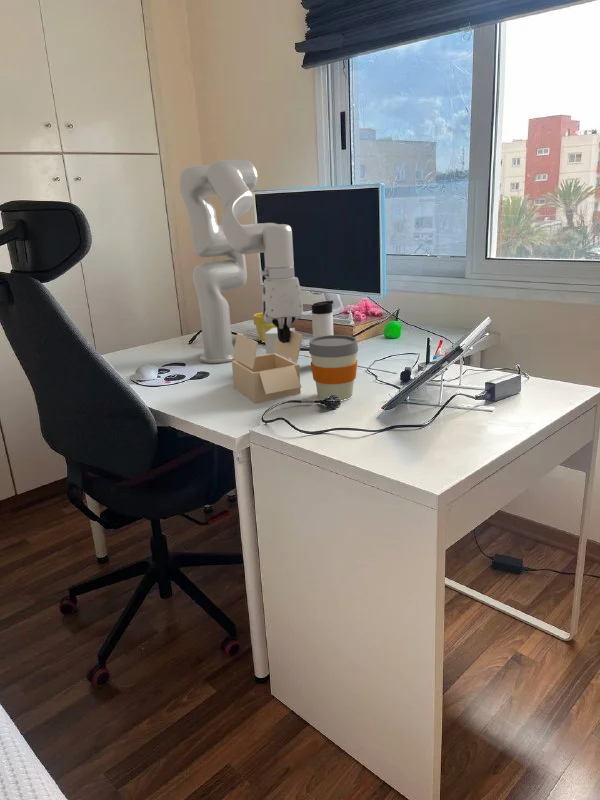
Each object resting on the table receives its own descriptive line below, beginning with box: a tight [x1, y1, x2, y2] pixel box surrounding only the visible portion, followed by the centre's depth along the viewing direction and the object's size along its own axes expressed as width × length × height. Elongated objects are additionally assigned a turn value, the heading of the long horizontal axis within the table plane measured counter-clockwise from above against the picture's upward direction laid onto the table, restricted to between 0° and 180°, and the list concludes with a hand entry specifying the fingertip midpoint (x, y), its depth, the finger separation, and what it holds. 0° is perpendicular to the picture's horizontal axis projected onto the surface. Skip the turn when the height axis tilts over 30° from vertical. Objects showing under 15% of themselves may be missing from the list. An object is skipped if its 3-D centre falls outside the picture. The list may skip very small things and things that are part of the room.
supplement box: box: [264, 327, 298, 364], centre depth 181 cm, size 7×7×13 cm
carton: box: [231, 353, 302, 404], centre depth 164 cm, size 23×13×8 cm, turn 27°
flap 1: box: [233, 332, 259, 369], centre depth 159 cm, size 14×7×1 cm
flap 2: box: [275, 330, 304, 362], centre depth 165 cm, size 14×7×1 cm
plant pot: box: [252, 312, 277, 341], centre depth 220 cm, size 10×10×10 cm
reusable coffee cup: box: [308, 334, 359, 401], centre depth 156 cm, size 13×13×15 cm
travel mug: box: [311, 300, 334, 339], centre depth 183 cm, size 6×7×20 cm
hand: (284, 341), depth 164 cm, fingers closed
